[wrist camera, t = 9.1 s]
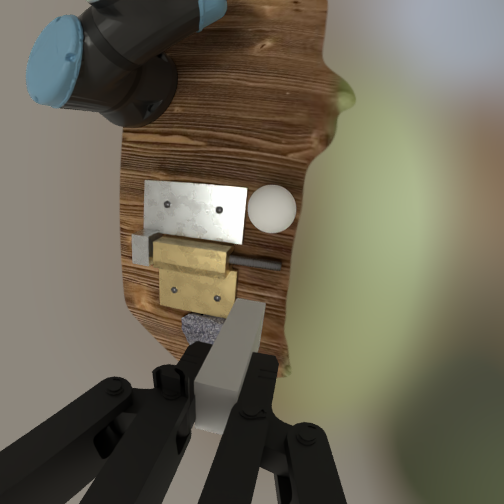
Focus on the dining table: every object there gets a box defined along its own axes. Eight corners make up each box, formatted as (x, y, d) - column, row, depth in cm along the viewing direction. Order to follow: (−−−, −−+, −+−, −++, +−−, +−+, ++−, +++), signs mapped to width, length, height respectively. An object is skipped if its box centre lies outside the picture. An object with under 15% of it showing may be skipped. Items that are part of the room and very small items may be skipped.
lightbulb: (250, 196, 45) (232, 206, 35) (282, 173, 43) (274, 175, 33) (273, 228, 46) (263, 248, 36) (306, 206, 44) (305, 219, 34)
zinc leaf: (147, 179, 47) (132, 182, 43) (290, 192, 44) (288, 196, 39) (146, 254, 51) (132, 263, 47) (279, 276, 48) (276, 288, 43)
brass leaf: (161, 233, 50) (147, 240, 45) (240, 244, 47) (232, 253, 43) (162, 302, 54) (150, 314, 49) (234, 317, 52) (227, 331, 47)
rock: (239, 327, 47) (236, 376, 49) (247, 315, 52) (243, 362, 54) (174, 314, 50) (175, 362, 51) (187, 304, 55) (187, 350, 57)
